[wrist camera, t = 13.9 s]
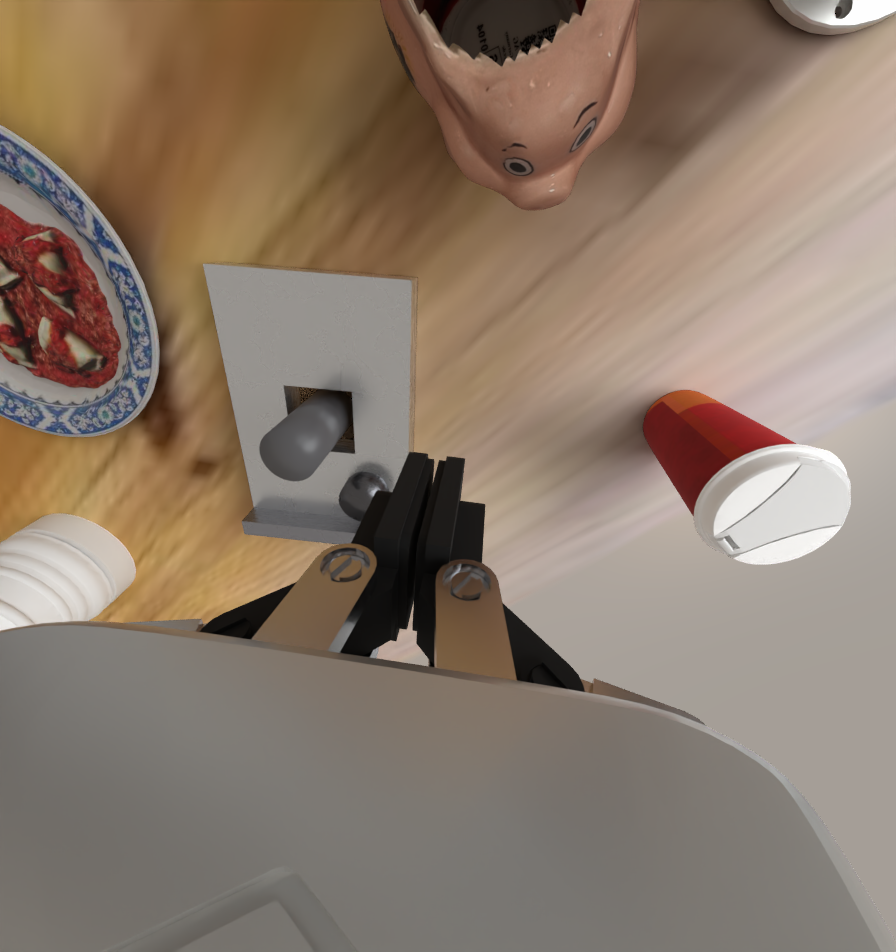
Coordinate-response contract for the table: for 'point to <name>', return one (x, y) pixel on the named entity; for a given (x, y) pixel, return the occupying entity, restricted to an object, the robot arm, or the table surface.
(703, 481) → the coffee cup
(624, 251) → the table surface
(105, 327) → the ceramic plate
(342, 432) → the gray cylinder
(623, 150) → the table surface
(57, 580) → the honey pot
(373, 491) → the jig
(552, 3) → the decorative planter
